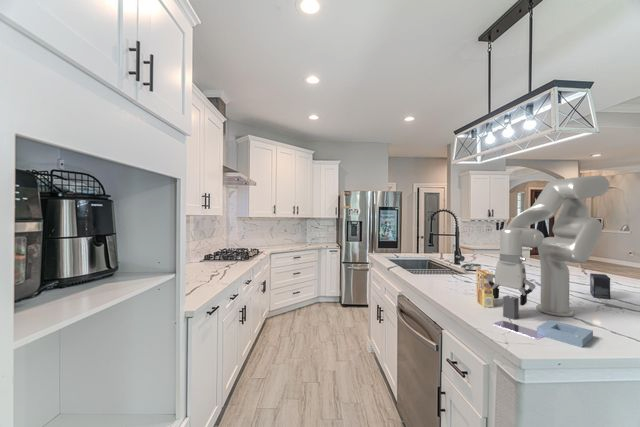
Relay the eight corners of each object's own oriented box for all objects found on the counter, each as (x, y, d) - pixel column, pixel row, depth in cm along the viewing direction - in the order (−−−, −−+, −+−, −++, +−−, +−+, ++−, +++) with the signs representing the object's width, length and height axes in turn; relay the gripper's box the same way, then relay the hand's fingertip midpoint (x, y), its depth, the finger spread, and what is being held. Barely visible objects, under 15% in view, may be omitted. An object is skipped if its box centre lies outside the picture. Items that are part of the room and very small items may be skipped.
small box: (589, 292, 153) (589, 272, 153) (606, 294, 149) (606, 274, 149) (592, 297, 144) (592, 276, 144) (611, 299, 140) (611, 278, 140)
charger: (507, 314, 120) (507, 294, 120) (518, 317, 117) (518, 297, 117) (503, 316, 118) (503, 296, 118) (514, 319, 115) (514, 298, 115)
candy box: (493, 307, 129) (493, 273, 129) (483, 307, 129) (483, 272, 129) (485, 301, 138) (485, 269, 137) (475, 301, 138) (476, 269, 138)
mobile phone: (536, 338, 96) (490, 323, 109) (536, 341, 96) (490, 325, 109) (547, 333, 100) (502, 319, 113) (547, 336, 100) (501, 321, 113)
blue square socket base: (549, 326, 108) (549, 319, 108) (592, 337, 98) (593, 329, 98) (536, 334, 101) (536, 326, 101) (582, 347, 91) (582, 338, 91)
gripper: (539, 261, 112) (538, 306, 112) (492, 255, 126) (490, 294, 126) (531, 263, 108) (530, 309, 108) (483, 256, 122) (482, 297, 122)
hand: (509, 301), depth 117 cm, fingers open, 9 cm apart
